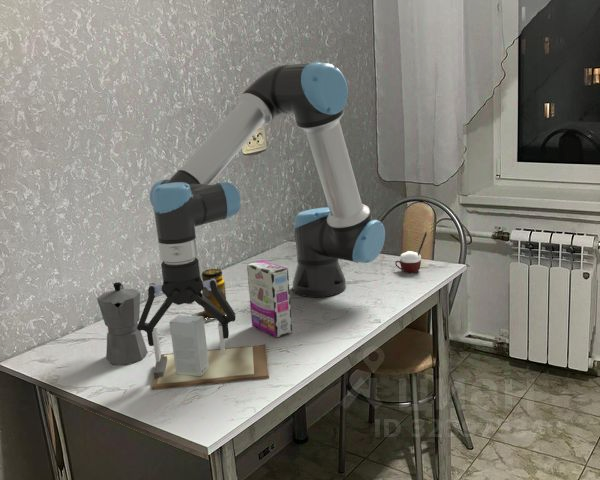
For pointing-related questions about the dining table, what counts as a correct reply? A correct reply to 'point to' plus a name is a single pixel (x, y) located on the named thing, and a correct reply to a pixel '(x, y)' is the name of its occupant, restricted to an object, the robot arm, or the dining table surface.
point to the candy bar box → (270, 298)
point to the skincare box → (189, 345)
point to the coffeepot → (122, 325)
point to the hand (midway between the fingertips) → (191, 355)
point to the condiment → (208, 294)
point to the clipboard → (215, 368)
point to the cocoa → (411, 260)
